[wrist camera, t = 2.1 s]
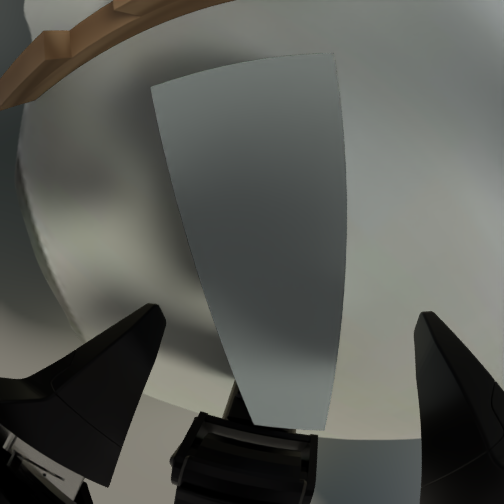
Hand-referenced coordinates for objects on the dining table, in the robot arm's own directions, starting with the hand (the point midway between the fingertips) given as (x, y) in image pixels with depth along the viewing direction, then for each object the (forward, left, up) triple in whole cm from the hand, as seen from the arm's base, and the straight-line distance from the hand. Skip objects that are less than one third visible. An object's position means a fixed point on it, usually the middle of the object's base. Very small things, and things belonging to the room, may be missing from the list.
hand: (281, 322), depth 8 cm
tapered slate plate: (0, 0, -7) cm, 7 cm away
